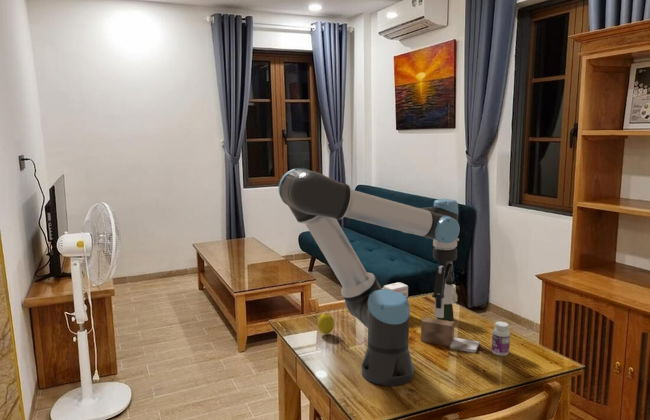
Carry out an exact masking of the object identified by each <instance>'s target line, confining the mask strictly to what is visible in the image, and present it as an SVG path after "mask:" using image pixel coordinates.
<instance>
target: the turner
mask: <svg viewBox="0 0 650 420" xmlns="http://www.w3.org/2000/svg"><path fill="white" fill-rule="evenodd" d="M420 327H421V329H420V341H421V342H425V343H430V344H435V345H442V346H446V347H449V349H451V350H456V351H457V350H458V351H463V352H469V353H474V354H476V353H477V351H478V348H479V345H480V341H479V340H478V341H477V340H473V339H466V338H460V337H455V321H451V320H440V318H431V317H426V316H425V317H423V319H422V320H421V325H420Z"/></svg>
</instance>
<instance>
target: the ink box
mask: <svg viewBox="0 0 650 420" xmlns="http://www.w3.org/2000/svg"><path fill="white" fill-rule="evenodd" d="M382 287H383V288H382V290H393V291H394V292H396V291H397V292H399V293H401V294H403V295H404V296H405V297H406V298H407V299H408V297H409V286H408V285H407V284H405V283H403V282H398V281H397V282H395V283H390V284H385V285H383V286H382ZM408 300H409V299H408Z"/></svg>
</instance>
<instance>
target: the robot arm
mask: <svg viewBox="0 0 650 420" xmlns="http://www.w3.org/2000/svg"><path fill="white" fill-rule="evenodd" d="M278 194H279V197H280V199H281V201H282V202H283V203H284V204H285V205H286V206H288V208H289V210H290V211H291V213H292V215H293V216H294V218H295V219H296V221H297V222H298V223H299V224H300V223H301V224H303V225H305V226H306V227H307V229H308V232H310V234H311V236H312V237H313V239H314V241H315V243H316V244H317V246H318V247H319V250H320V251H321V253H322V254H323V256H324V258H325V259H326V261H327V264H328V265H329V266H330V268H331V270H332V271H333V273H334V275H335V276H336V278H337V280H338V282H340V285H341V286H342V287H341V291H340V294H341V296H342V298H343V300H344V304H345V306H346V308H347V310H348V311H349V313H350V314H351V315H352V316H353V317H355V318H356V319H357V320H358V321H359V322H361V323H362V325H364V327H366V328H367V347H366V351H365V354H364V357H363V359H362V362H361V372H360V373H361V375H362V377H363V378H364V379H365V380H366V381H368V382H369V383H373V384H375V385H380V386H387V387H389V386H391V387H394V386H401V385H404V384H407V383H409V382H410V381H412V380H413V378H414V376H415V365H414V363H413V360H412V356H411V354H410V351H409V341H410V339H409V338H410V337H409V334H410V316H411V309H410V301H409V299H407V298H406V297H405V296H404V295H403V294H401V293H399V292H397V291H396V292H394V291H393V290H383V288H382V286H381V284H380V283H379V281H378V279H377V277H376V276H375V274H374V273H372V272H367V271H366V269H365V267H364V265H363V263H362V261H361V260H360V258H359V256H358V254H357V253H356V251H355V250H354V248H353V246H352V244H351V243H350V240H349V238H348V237H347V235H346V234H345V231H343V228H342V227H341V225H340V223H339V221H338V220H342V219H344V218H348V219H353V220H356V221H360V222H364V223H368V224H372V225H376V226H380V227H383V228H387V229H391V230H396V231H400V232H402V233H403V234H411V235H412V234H413V235H415V236H416V235H417V236H418V237H419V236H420V237H423V238H427V239H431V240H433V241H432V246H433V248H432V249H433V250H432V259H434V260H435V261H438V262H439V263H438V265H436V267H435V279H434V287H433V288H434V289H433V294H432V295H431V296H432V299H433V298H434V317H435V318H437V317H438V319H440V318H443V317H444V303H448V304H452V299H453V285H452V284H454V285H455V286H456V281H455V273H454V272H455V271H454V264H453V262H454V261H456V260H457V258H458V249H457V247H458V242H459V241H460V238H459V236H460V235H459V234H460V229H461V228H460V227H461V226H460V224H459V203H458V202H457V200H455V199H451V198H439V199H435V200H434V201H433V206H429V207H416V206H413V205H410V204H405V203H401V202H398V201H393V200H390V199H388V198H385V197H384V198H383V197H380V196H376V195H372V194H369V193H365V192H362V191H358V190H355V189H352V188H351V185H349V184H346V183H343V182H340V181H338V180H336V179H333V178H330V177H329V176H326V175H324V174H322V173H320V172H318V171H314V170H310V169H308V168H305V167H298V168H293V169H291V170H289V171H287V172H285V173H284V174H283V175H282V177H281V179H280V181H279V183H278ZM443 295H444V298H443ZM452 305H453V304H452Z"/></svg>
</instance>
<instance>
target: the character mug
mask: <svg viewBox="0 0 650 420" xmlns="http://www.w3.org/2000/svg"><path fill="white" fill-rule="evenodd" d="M452 285H453V299H452V304H448V303H444V317H443V318H439V317H436V319H439V320H446V321H451V320H453V319H454V306H453V304H455V303H458V294H457V291H456V290H457V285H456V284H455V285H454V284H452ZM443 298H444V295H443Z"/></svg>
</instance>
